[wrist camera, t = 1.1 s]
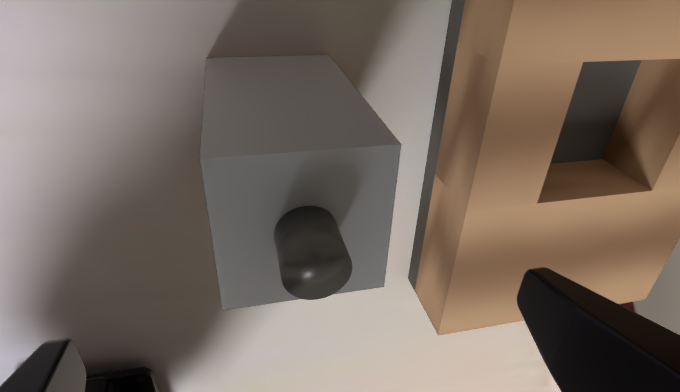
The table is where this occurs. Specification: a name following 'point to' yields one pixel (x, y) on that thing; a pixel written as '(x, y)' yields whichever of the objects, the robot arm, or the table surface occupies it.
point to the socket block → (549, 155)
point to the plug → (294, 180)
